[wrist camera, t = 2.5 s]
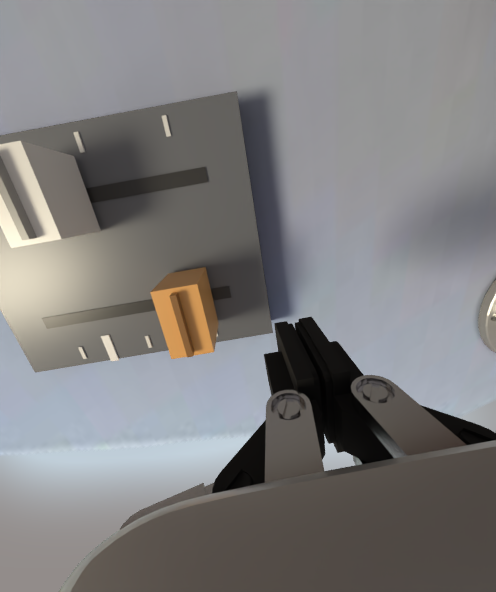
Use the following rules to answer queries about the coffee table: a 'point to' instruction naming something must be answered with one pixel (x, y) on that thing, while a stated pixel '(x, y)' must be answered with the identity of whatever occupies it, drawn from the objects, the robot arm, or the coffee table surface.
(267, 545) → the robot arm
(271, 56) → the coffee table surface
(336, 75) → the coffee table surface
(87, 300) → the console
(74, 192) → the fader white
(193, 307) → the fader orange
